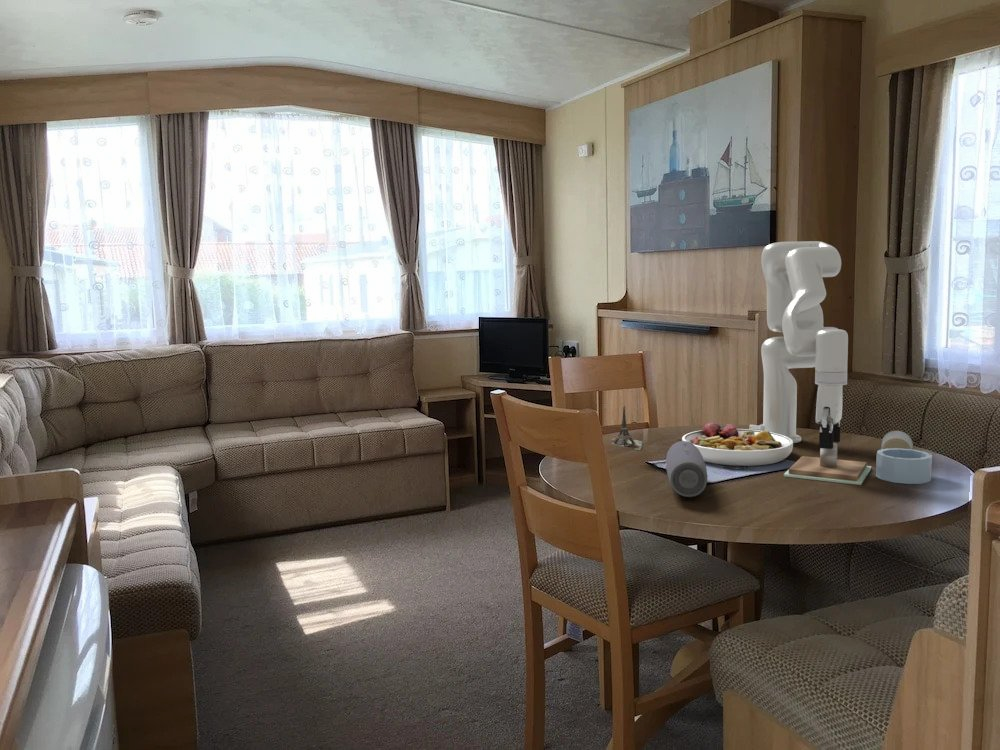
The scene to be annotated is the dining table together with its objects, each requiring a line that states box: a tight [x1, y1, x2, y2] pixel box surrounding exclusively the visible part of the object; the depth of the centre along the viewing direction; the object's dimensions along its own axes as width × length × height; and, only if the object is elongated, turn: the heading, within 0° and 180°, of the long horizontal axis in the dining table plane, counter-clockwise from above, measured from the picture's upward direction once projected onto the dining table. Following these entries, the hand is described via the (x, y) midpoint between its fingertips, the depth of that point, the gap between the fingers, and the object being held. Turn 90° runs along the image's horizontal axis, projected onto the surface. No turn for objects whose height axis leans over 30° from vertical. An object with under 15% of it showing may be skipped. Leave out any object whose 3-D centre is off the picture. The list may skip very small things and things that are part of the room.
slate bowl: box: [875, 448, 933, 485], centre depth 198 cm, size 12×12×6 cm
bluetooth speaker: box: [665, 440, 708, 498], centre depth 193 cm, size 23×9×10 cm, turn 170°
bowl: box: [681, 421, 794, 467], centre depth 226 cm, size 30×30×8 cm
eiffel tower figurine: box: [611, 405, 643, 451], centre depth 243 cm, size 15×10×13 cm
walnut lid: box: [788, 442, 868, 481], centre depth 204 cm, size 16×16×7 cm
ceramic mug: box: [880, 430, 914, 450], centre depth 214 cm, size 11×8×8 cm
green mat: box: [783, 465, 872, 486], centre depth 205 cm, size 18×18×1 cm
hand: (829, 444), depth 203 cm, fingers open, 9 cm apart
